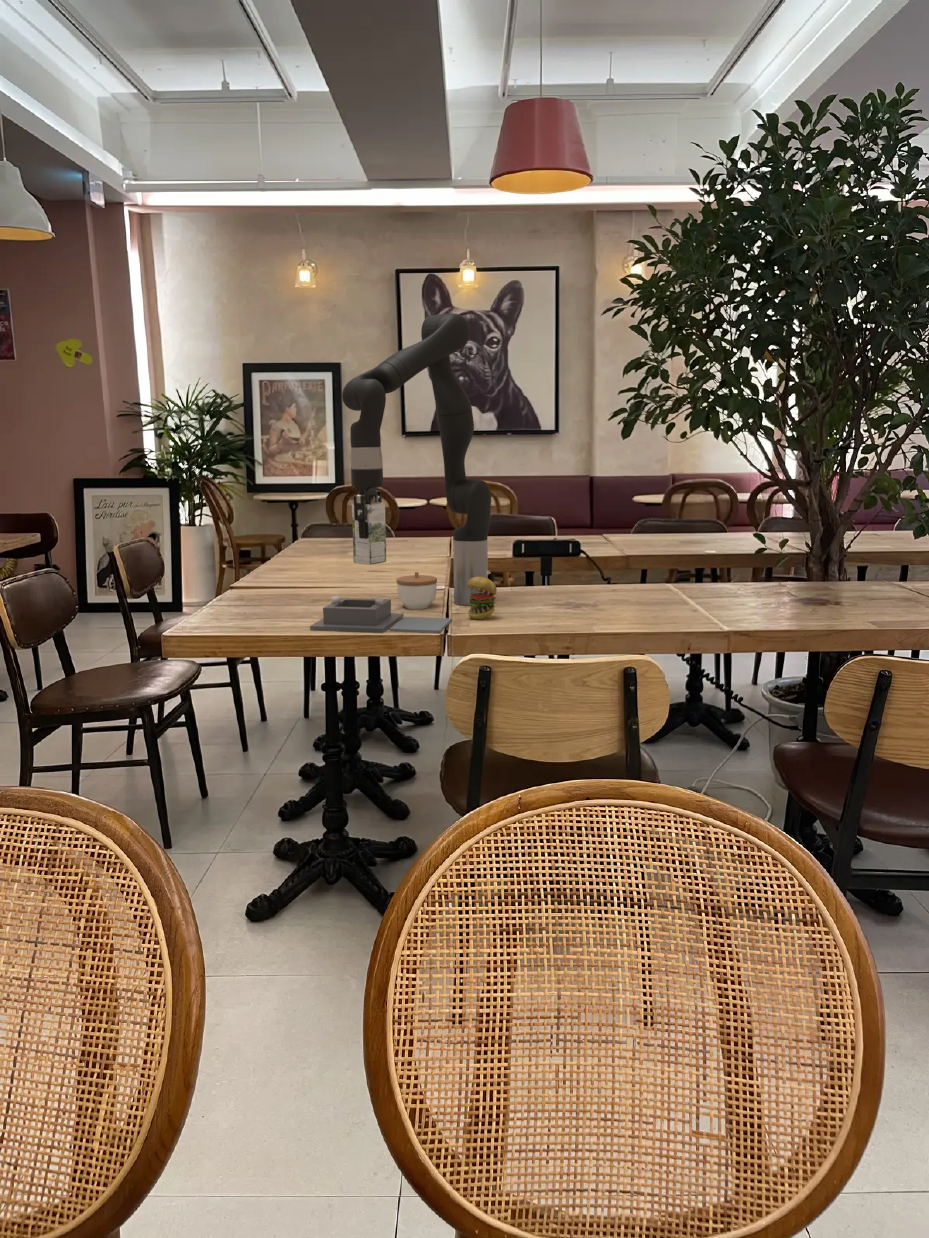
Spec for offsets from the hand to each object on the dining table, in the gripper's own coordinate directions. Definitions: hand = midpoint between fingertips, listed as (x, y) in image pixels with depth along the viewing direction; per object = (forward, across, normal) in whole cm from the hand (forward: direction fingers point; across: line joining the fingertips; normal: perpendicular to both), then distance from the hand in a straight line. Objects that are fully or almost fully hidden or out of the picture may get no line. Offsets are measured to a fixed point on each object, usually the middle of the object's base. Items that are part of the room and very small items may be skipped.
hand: (369, 536), depth 216 cm
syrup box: (+7, 0, 0) cm, 7 cm away
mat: (+22, 0, -12) cm, 25 cm away
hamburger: (+22, +11, -25) cm, 35 cm away
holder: (+21, -1, +4) cm, 22 cm away
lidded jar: (+22, +22, -5) cm, 32 cm away
